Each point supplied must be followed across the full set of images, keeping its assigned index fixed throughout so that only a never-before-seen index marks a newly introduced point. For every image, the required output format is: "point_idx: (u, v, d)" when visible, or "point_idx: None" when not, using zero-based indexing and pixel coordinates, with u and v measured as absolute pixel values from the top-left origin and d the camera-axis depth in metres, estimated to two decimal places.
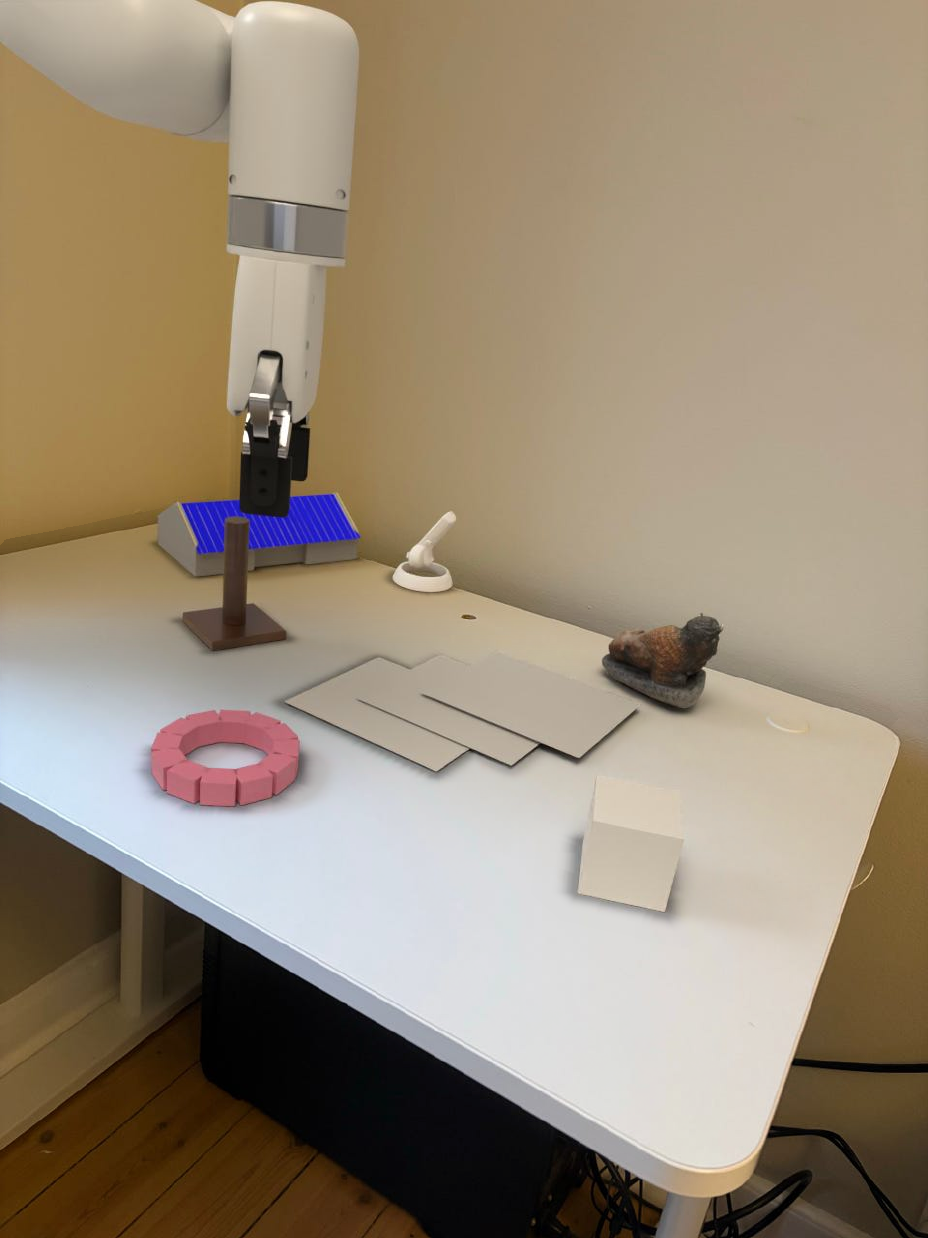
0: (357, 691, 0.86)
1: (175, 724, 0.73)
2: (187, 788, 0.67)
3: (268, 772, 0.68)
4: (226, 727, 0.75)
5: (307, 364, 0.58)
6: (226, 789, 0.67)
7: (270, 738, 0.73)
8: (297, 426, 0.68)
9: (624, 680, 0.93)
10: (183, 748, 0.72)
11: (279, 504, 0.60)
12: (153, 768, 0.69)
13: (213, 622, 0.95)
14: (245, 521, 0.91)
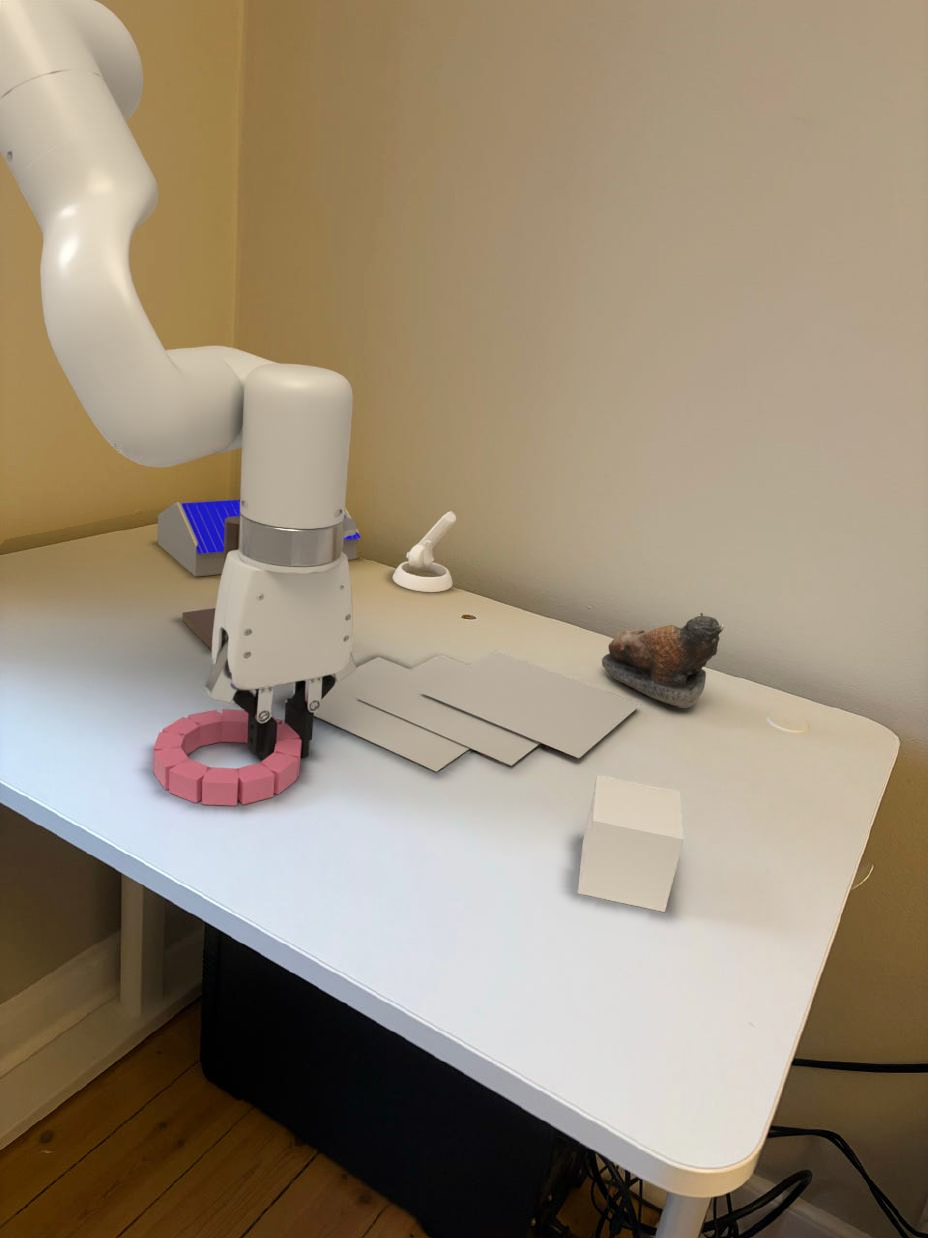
0: (357, 691, 0.86)
1: (177, 724, 0.73)
2: (189, 788, 0.67)
3: (270, 772, 0.69)
4: (228, 727, 0.75)
5: (249, 647, 0.67)
6: (228, 788, 0.67)
7: None
8: (300, 709, 0.74)
9: (624, 680, 0.93)
10: (185, 748, 0.72)
11: (264, 754, 0.73)
12: (155, 767, 0.69)
13: (213, 622, 0.95)
14: None
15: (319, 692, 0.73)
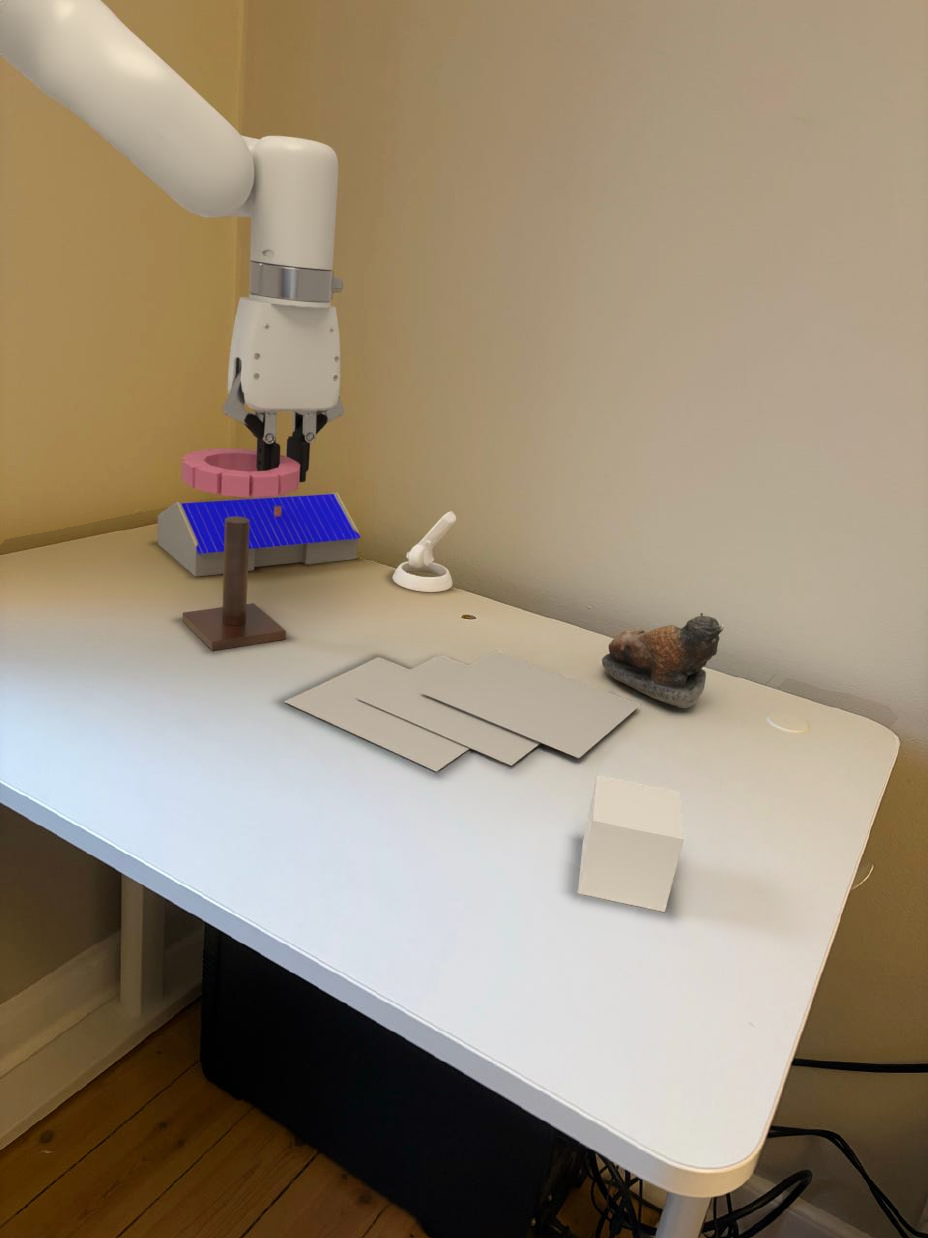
0: (357, 691, 0.86)
1: (200, 451, 0.91)
2: (211, 481, 0.85)
3: (275, 474, 0.86)
4: (241, 458, 0.93)
5: (258, 369, 0.84)
6: (242, 481, 0.84)
7: None
8: (298, 440, 0.91)
9: (624, 680, 0.93)
10: None
11: None
12: (183, 474, 0.87)
13: (213, 622, 0.95)
14: (245, 521, 0.91)
15: (314, 425, 0.91)
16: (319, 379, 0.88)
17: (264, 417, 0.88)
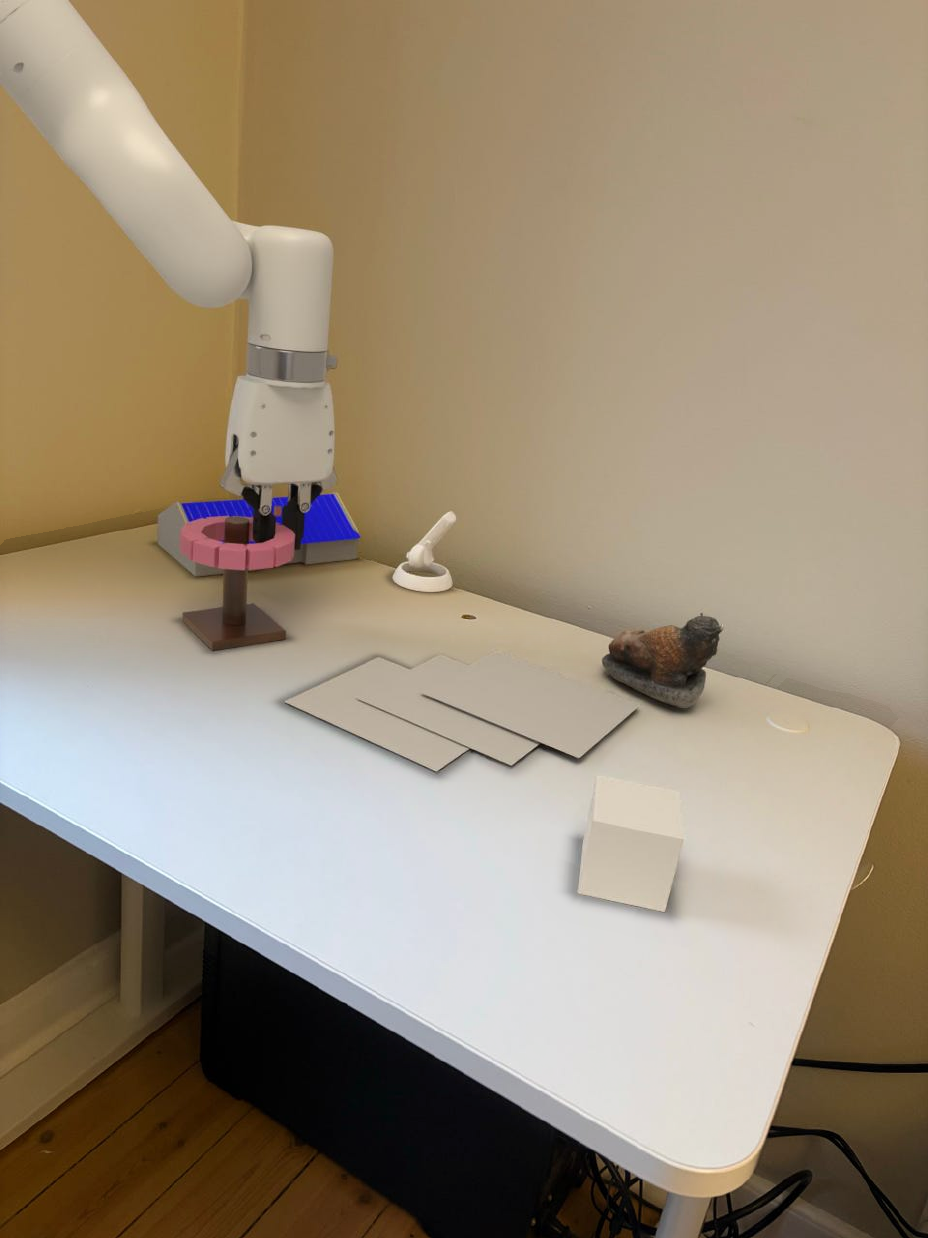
0: (357, 691, 0.86)
1: (198, 521, 0.94)
2: (209, 555, 0.87)
3: (270, 547, 0.89)
4: None
5: (254, 447, 0.87)
6: (238, 555, 0.87)
7: None
8: (294, 510, 0.94)
9: (624, 680, 0.93)
10: None
11: None
12: (182, 546, 0.90)
13: (213, 622, 0.95)
14: (245, 521, 0.91)
15: (309, 496, 0.94)
16: (314, 453, 0.91)
17: (260, 490, 0.90)
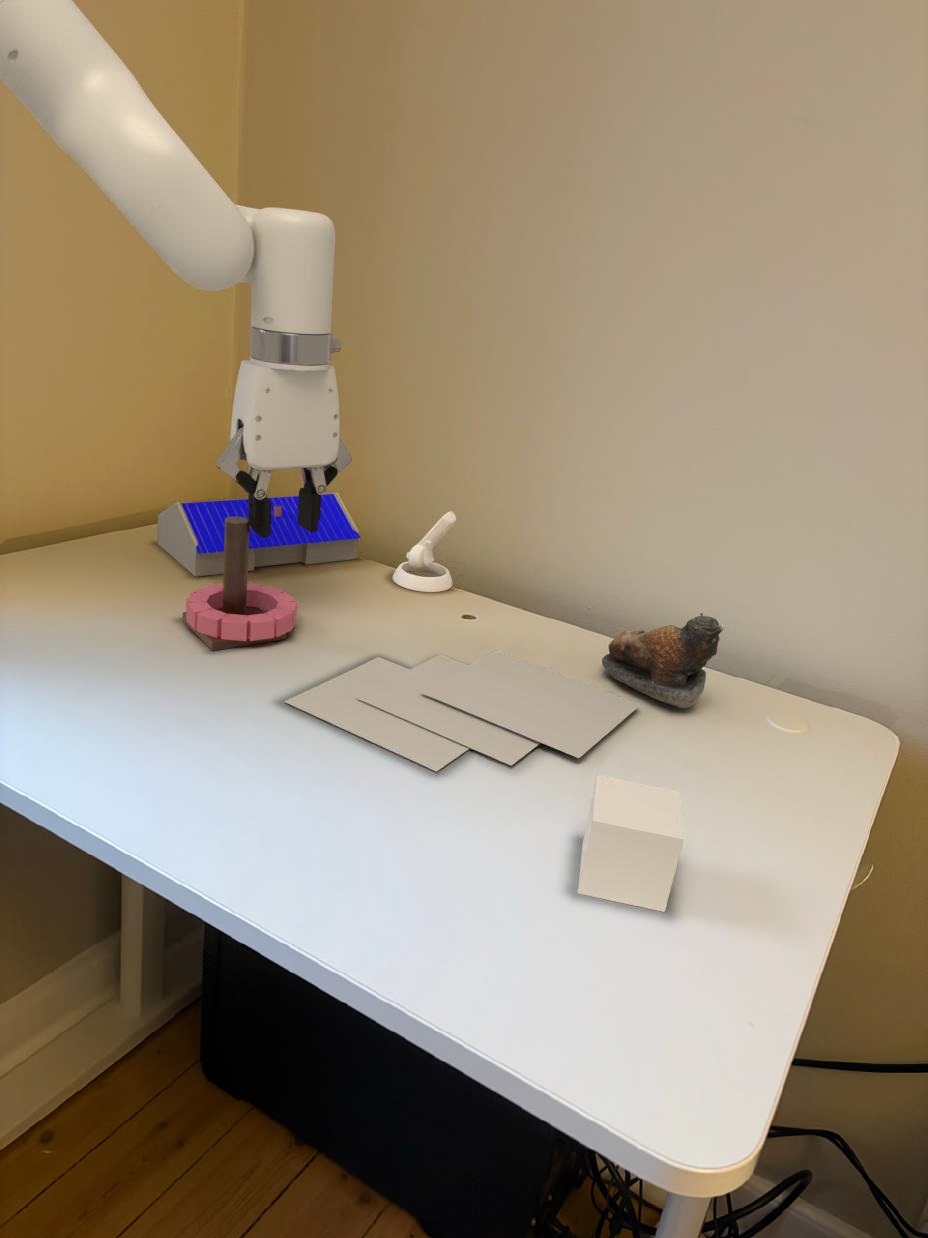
0: (357, 691, 0.86)
1: (205, 588, 0.97)
2: (212, 626, 0.91)
3: (271, 618, 0.92)
4: None
5: (259, 431, 0.87)
6: (240, 627, 0.91)
7: (275, 600, 0.97)
8: (310, 492, 0.94)
9: (624, 680, 0.93)
10: (210, 605, 0.96)
11: (262, 528, 0.92)
12: (187, 615, 0.93)
13: None
14: (245, 521, 0.91)
15: (323, 477, 0.94)
16: (319, 437, 0.91)
17: (259, 473, 0.90)
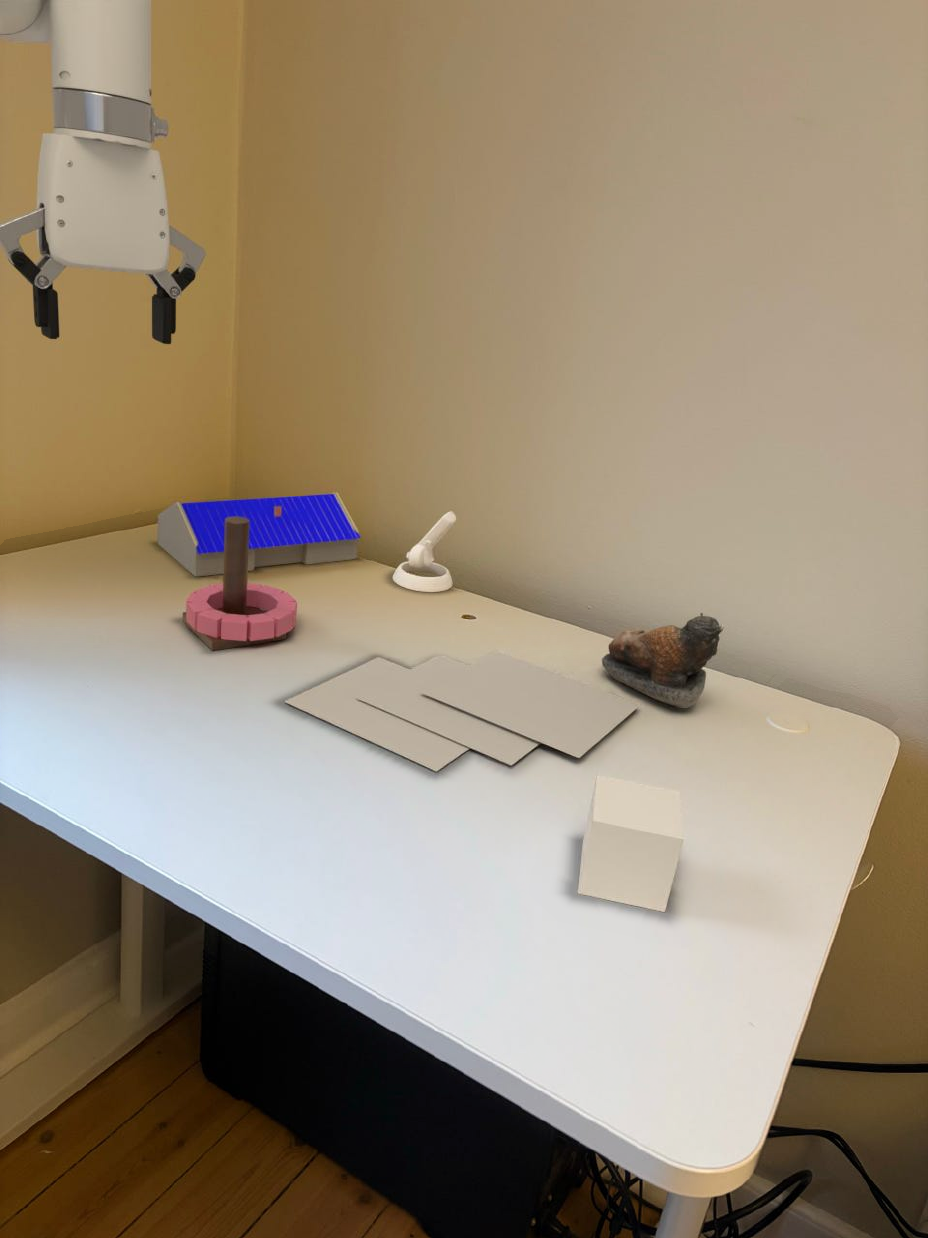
0: (357, 691, 0.86)
1: (205, 588, 0.97)
2: (212, 626, 0.91)
3: (271, 618, 0.92)
4: None
5: (62, 215, 0.74)
6: (240, 627, 0.91)
7: (275, 600, 0.97)
8: (162, 295, 0.82)
9: (624, 680, 0.93)
10: (210, 605, 0.96)
11: (48, 327, 0.78)
12: (187, 615, 0.93)
13: None
14: (245, 521, 0.91)
15: (170, 278, 0.82)
16: (141, 234, 0.78)
17: (50, 258, 0.76)
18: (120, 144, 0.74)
